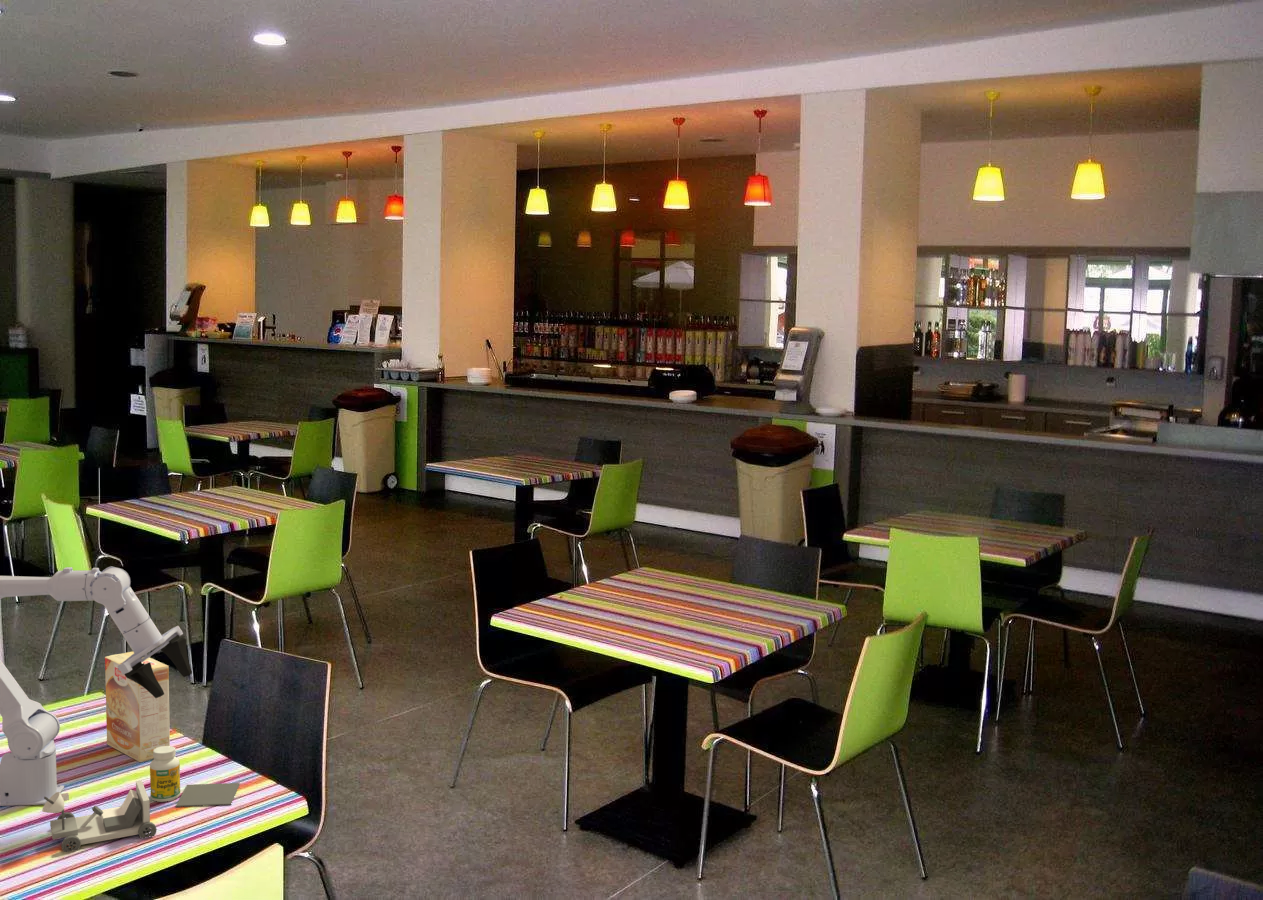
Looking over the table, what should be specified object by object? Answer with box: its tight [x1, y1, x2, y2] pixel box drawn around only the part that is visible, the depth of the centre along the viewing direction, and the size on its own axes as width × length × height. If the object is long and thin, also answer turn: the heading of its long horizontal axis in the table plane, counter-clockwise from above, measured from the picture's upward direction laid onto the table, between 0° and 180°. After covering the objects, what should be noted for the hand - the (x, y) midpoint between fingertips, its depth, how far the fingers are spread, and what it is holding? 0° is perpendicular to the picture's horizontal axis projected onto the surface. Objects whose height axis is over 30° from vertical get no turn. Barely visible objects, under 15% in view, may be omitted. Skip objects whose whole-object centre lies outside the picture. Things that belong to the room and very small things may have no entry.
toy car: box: [41, 780, 157, 853], centre depth 212 cm, size 18×10×12 cm
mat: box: [175, 782, 241, 808], centre depth 230 cm, size 10×10×1 cm
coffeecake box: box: [104, 650, 171, 763], centre depth 251 cm, size 15×7×20 cm, turn 49°
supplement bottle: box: [149, 745, 181, 803], centre depth 228 cm, size 5×5×10 cm
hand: (174, 685), depth 227 cm, fingers open, 7 cm apart
